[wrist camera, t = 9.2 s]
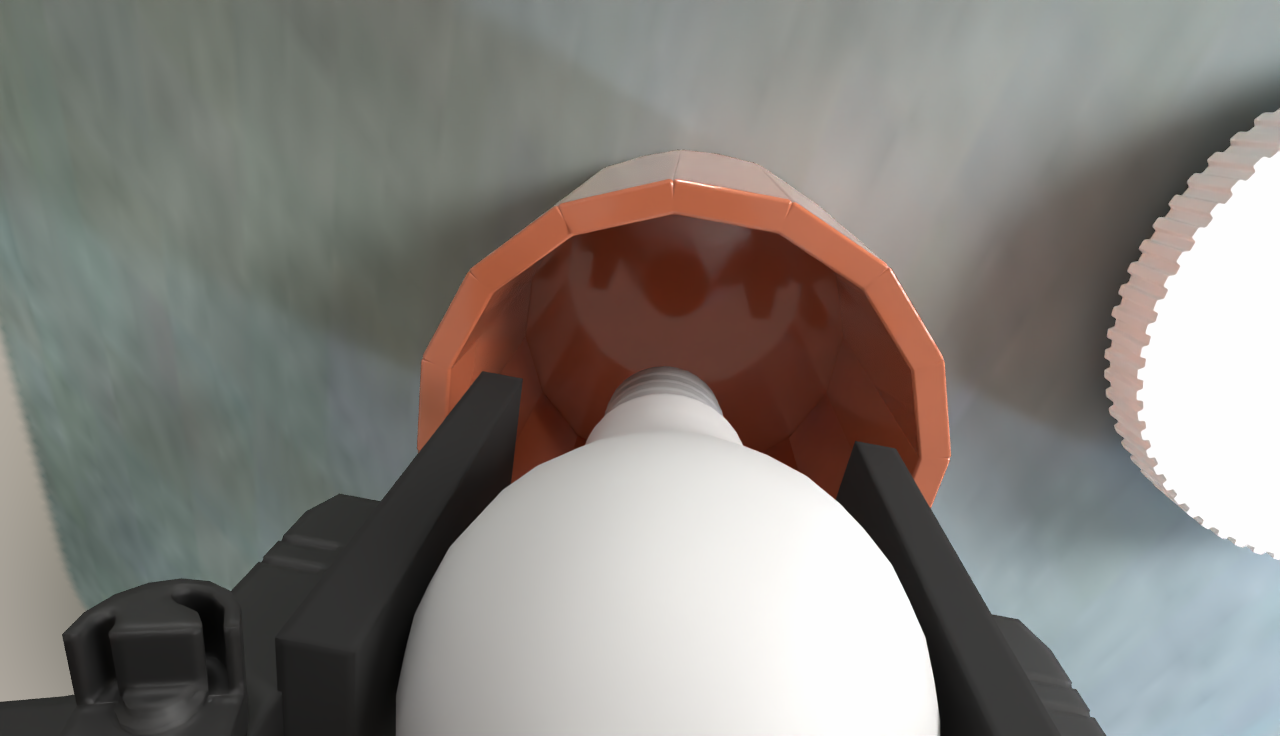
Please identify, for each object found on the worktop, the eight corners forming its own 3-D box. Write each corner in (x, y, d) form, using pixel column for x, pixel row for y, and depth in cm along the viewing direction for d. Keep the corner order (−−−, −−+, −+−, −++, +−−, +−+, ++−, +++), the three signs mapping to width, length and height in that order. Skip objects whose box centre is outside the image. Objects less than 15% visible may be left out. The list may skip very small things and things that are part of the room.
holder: (447, 283, 21) (311, 386, 13) (735, 70, 18) (763, 50, 11) (641, 523, 23) (617, 719, 16) (917, 371, 21) (1041, 524, 13)
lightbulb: (813, 278, 14) (1190, 746, 4) (782, 519, 17) (973, 1201, 6) (526, 268, 14) (191, 698, 4) (535, 510, 17) (335, 1164, 6)
